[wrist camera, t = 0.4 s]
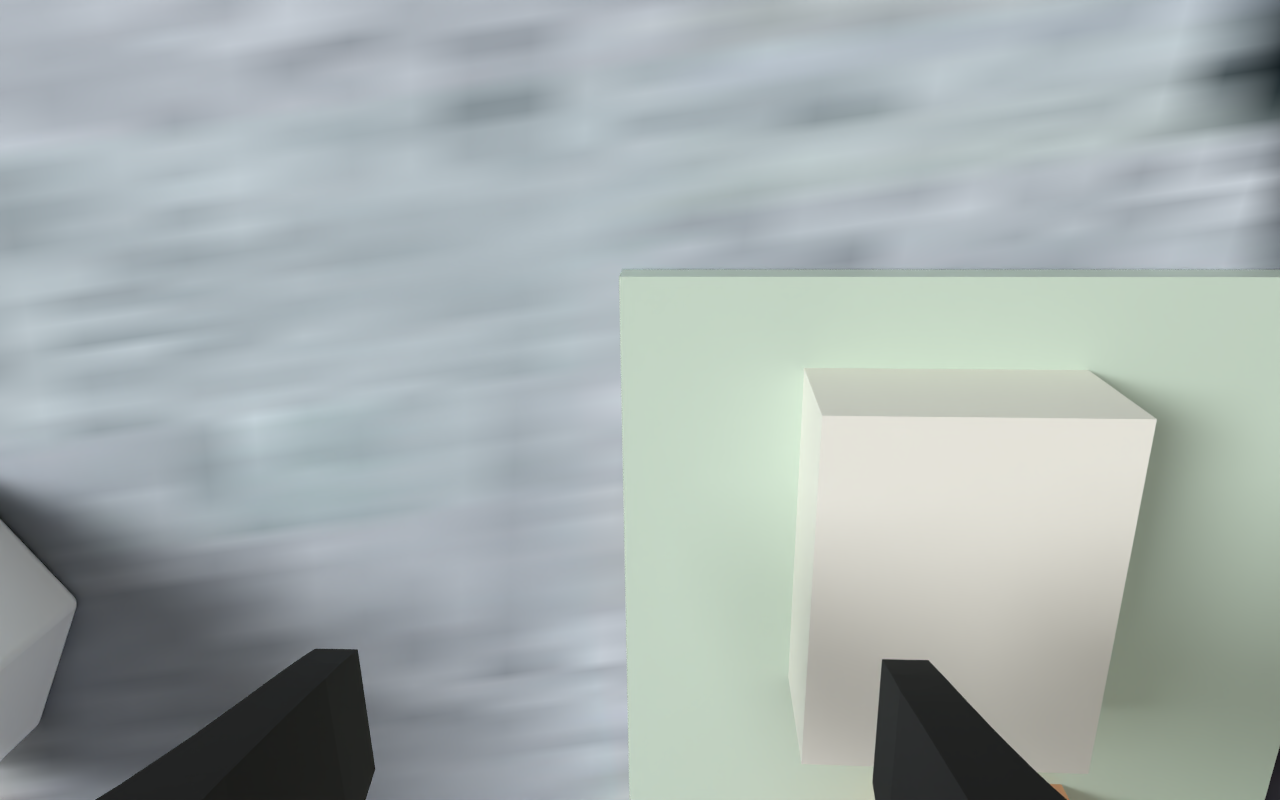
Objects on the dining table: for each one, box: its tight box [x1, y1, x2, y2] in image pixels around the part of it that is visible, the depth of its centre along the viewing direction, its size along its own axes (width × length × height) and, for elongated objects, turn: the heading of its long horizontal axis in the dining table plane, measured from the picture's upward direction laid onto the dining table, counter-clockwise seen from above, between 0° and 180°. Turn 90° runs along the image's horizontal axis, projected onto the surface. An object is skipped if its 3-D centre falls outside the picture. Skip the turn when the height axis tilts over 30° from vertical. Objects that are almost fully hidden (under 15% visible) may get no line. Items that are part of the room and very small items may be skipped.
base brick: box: [788, 368, 1157, 774], centre depth 19 cm, size 8×6×3 cm
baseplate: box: [619, 270, 1280, 800], centre depth 22 cm, size 22×16×1 cm
